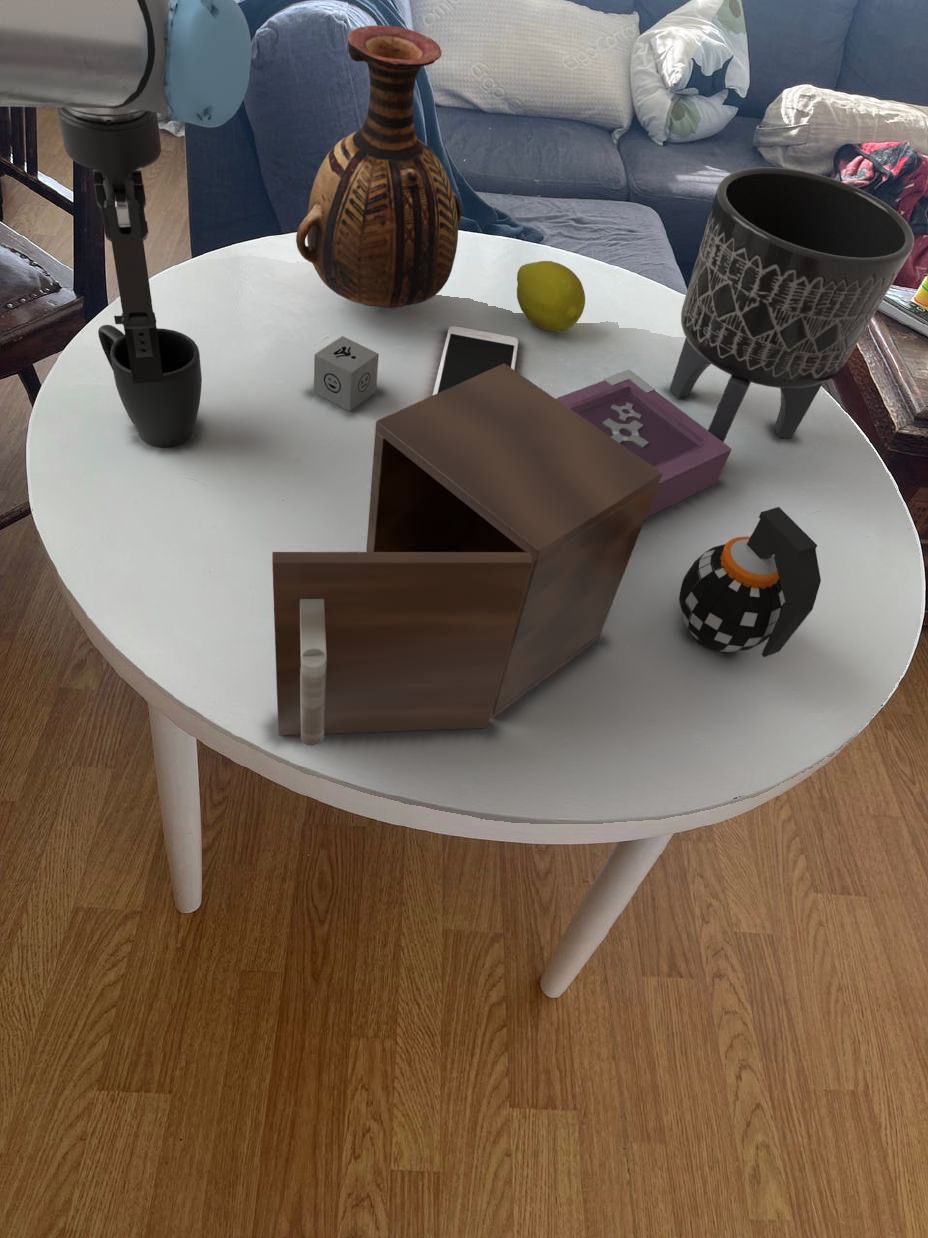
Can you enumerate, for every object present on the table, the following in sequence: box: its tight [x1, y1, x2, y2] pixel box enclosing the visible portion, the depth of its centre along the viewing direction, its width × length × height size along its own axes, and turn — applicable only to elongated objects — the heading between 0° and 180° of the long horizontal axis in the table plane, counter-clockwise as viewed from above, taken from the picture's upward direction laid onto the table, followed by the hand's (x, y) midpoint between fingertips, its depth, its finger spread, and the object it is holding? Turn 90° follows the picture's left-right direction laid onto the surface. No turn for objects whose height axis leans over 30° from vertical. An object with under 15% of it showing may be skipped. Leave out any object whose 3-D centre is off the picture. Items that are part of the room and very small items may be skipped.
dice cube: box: [313, 335, 380, 412], centre depth 101 cm, size 5×5×5 cm
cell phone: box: [432, 325, 519, 396], centre depth 107 cm, size 9×18×1 cm, turn 173°
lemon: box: [516, 260, 586, 333], centre depth 115 cm, size 11×8×8 cm
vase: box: [295, 24, 462, 309], centre depth 104 cm, size 21×18×30 cm
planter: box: [668, 166, 915, 443], centre depth 98 cm, size 20×20×26 cm
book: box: [555, 369, 733, 519], centre depth 97 cm, size 25×16×5 cm, turn 128°
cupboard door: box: [271, 551, 533, 746], centre depth 64 cm, size 7×17×20 cm, turn 98°
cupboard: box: [365, 364, 663, 719], centre depth 75 cm, size 14×17×20 cm
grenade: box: [678, 506, 822, 658], centre depth 80 cm, size 11×10×15 cm
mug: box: [97, 324, 203, 448], centre depth 91 cm, size 8×12×10 cm
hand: (142, 339), depth 87 cm, fingers open, 13 cm apart
